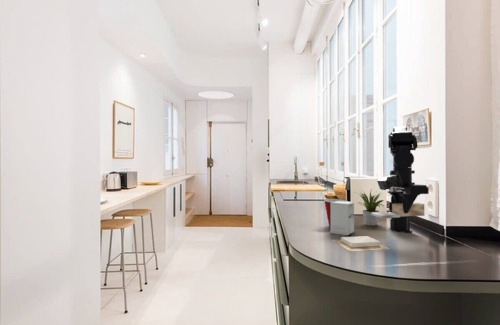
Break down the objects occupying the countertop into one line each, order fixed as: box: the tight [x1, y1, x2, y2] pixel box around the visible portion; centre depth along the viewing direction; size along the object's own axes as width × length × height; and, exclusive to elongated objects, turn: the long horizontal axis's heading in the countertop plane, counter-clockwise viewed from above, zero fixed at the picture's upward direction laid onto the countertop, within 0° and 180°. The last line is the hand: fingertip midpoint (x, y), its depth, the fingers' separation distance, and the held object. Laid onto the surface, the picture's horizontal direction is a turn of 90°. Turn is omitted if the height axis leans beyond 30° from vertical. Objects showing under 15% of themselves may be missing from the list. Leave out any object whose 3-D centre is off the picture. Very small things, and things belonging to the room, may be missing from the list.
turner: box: [371, 202, 425, 219], centre depth 105 cm, size 17×6×4 cm, turn 97°
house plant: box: [354, 188, 385, 227], centre depth 139 cm, size 14×14×16 cm
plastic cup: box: [323, 198, 349, 228], centre depth 135 cm, size 11×11×12 cm
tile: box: [340, 235, 381, 248], centre depth 104 cm, size 2×8×10 cm
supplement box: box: [330, 201, 355, 236], centre depth 122 cm, size 7×7×13 cm
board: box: [332, 239, 391, 252], centre depth 104 cm, size 14×14×1 cm
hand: (402, 212), depth 105 cm, fingers closed on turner, 3 cm apart
